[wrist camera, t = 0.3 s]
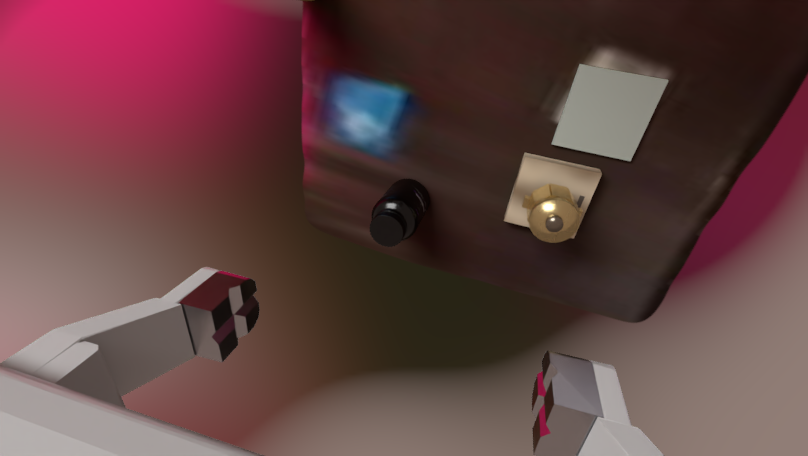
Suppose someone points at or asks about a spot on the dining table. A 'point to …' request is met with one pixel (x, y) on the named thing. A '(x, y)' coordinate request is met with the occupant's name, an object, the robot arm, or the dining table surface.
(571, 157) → the dining table surface
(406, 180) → the supplement bottle
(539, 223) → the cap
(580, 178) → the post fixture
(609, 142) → the coaster
